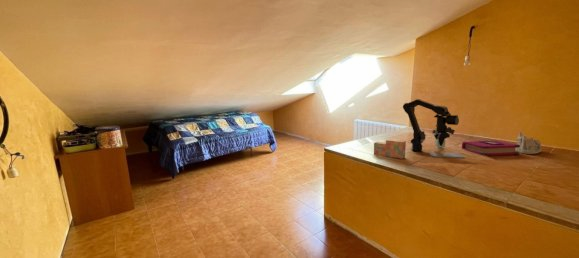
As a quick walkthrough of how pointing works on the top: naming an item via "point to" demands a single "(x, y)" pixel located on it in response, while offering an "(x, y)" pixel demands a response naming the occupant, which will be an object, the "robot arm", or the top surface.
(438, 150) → the maple block
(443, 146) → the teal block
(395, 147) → the stack of blocks
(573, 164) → the top surface
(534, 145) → the ceramic cottage
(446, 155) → the blueprint board
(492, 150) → the book
